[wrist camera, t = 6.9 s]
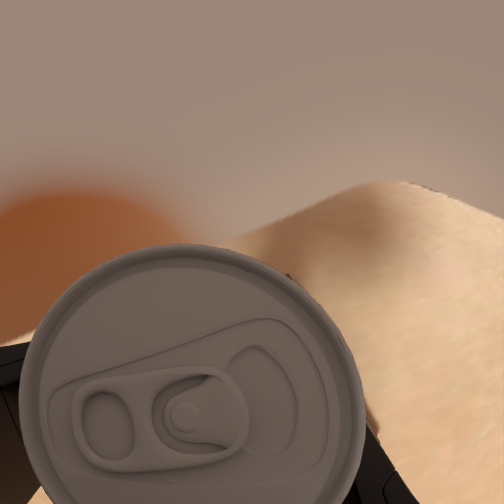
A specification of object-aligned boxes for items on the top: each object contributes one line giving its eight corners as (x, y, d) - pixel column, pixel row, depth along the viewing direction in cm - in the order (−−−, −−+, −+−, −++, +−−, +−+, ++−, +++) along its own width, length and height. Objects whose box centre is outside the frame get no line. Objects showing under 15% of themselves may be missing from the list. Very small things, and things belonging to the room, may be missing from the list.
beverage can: (300, 448, 13) (427, 534, 3) (184, 471, 13) (51, 582, 2) (271, 340, 16) (321, 188, 5) (160, 363, 15) (-1, 261, 4)
